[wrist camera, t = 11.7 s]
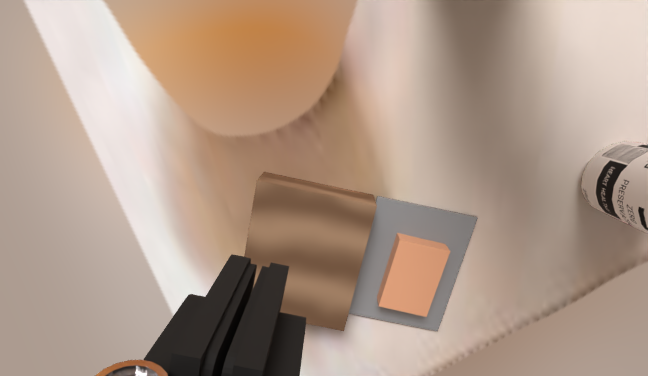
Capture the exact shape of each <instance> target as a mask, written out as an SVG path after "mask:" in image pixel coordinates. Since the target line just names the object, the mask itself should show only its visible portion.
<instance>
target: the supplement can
mask: <svg viewBox="0 0 648 376" xmlns="http://www.w3.org/2000/svg"><path fill="white" fill-rule="evenodd" d="M581 188H582V191H583V195H584V198H585V199H586V200H587V202H588V203H589V204H590V205H591V206H592V207H594V208H596V209H598V210H600V211H602V212H604V213H606V214H608V215H610V216H612V217H614V218H616V219H618V220H620V221H622V222H624V223H626V224H628V225H630V226H633V227H635V228H637V229H639V230H641V231H643V232H645V233H647V234H648V144H644V143H639V142H629V141H623V142H619V143H615V144H611V145H609V146H607V147H606V148H604V149H602V150H601V151H599V152H598V153H597V154H596V155H595V156H594V157H593V158H592V159H591V160H590V161H589V162H588V164H587V166H586V168H585V170H584V173H583V175H582V184H581Z"/></svg>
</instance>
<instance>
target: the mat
mask: <svg viewBox="0 0 648 376" xmlns="http://www.w3.org/2000/svg"><path fill="white" fill-rule="evenodd" d="M376 205H377V208H376V212H375V216H374V219H373V223H372V227H371V231H370V234H369V238H368V242H367V246H366V249H365V253H364V257H363V261H362V264H361V268H360V272H359V276H358V279H357V283H356V287H355V291H354V294H353V298H352V302H351V306H350V309H349V314H354V315H359V316H364V317H369V318H374V319H379V320H384V321H389V322H394V323H399V324H404V325H409V326H414V327H419V328H424V329H429V330H434V331H438V329H439V326H440V323H441V320H442V317H443V315H444V312H445V309H446V306H447V303H448V300H449V298H450V295H451V292H452V289H453V286H454V283H455V281H456V278H457V275H458V272H459V269H460V266H461V263H462V261H463V258H464V255H465V252H466V249H467V246H468V244H469V241H470V238H471V235H472V232H473V229H474V227H475V224H476V221H477V217H475V216H470V215H465V214H460V213H456V212H451V211H446V210H442V209H437V208H432V207H427V206H423V205H418V204H413V203H408V202H404V201H399V200H394V199H390V198H385V197H380V196H377V200H376ZM397 233H400V234H405V235H409V236H413V237H417V238H422V239H426V240H430V241H435V242H439V243H443V244H446V246H447V247H448V249H449V250H450V254H449V257H448V259H447V262H446V265H445V268H444V270H443V273H442V276H441V279H440V281H439V284H438V287H437V289H436V292H435V295H434V298H433V300H432V303H431V306H430V309H429V311H428V314H427V317H424V316H420V315H415V314H411V313H406V312H402V311H397V310H393V309H388V308H384V307H380V306H378V301H377V295H378V292H379V289H380V285H381V282H382V279H383V276H384V273H385V269H386V266H387V263H388V260H389V257H390V254H391V250H392V247H393V244H394V241H395V238H396V235H397Z"/></svg>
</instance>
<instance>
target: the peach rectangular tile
mask: <svg viewBox="0 0 648 376" xmlns="http://www.w3.org/2000/svg"><path fill="white" fill-rule="evenodd" d="M449 254H450V250H449V249H448V247H447V246H446V244H443V243H439V242H435V241H430V240H426V239H422V238H417V237H413V236H409V235H405V234H400V233H397V235H396V238H395V241H394V244H393V247H392V250H391V254H390V257H389V260H388V263H387V266H386V269H385V273H384V276H383V279H382V282H381V285H380V289H379V292H378V295H377V301H378V306H380V307H384V308H388V309H393V310H397V311H402V312H406V313H411V314H415V315H420V316H424V317H427V314H428V311H429V309H430V306H431V303H432V300H433V298H434V295H435V292H436V289H437V287H438V284H439V281H440V279H441V276H442V273H443V270H444V268H445V265H446V262H447V259H448V257H449Z"/></svg>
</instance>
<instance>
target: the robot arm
mask: <svg viewBox="0 0 648 376" xmlns="http://www.w3.org/2000/svg"><path fill="white" fill-rule="evenodd" d="M256 269H257V265H256V264H251V258H247V257H242V256H237V255H231V256H230V257H229V259H228V261H227V262H226V264H225V266H224V267H223V269H222V271H221V272H220V274H219V276H218V277H217V279H216V281H215V282H214V284H213V285H212V287H211V289H210V290H209V292H208V294H207V295H206V297H203V296H198V295H193V294H190V295H188V297H187V298H186V299H185V300H184V302H183V303H182V305H181V306H180V308H179V309H178V311H177V312H176V313H175V315H174V316H173V318H172V319H171V321H170V322H169V324H168V325H167V326H166V328H165V329H164V331H163V332H162V334H161V335H160V337H159V338H158V339H157V341H156V342H155V344H154V345H153V347H152V348H151V350H150V351H149V352H148V354H147V355H146V357H145V358H144V360H128V361H124V362H119V363H116V364H113V365H111V366H109V367H107V368H105V369H103V370H102V371H100V372H99V373H98V374H96V375H95V376H299V375H300V367H301V358H302V350H303V342H304V334H305V326H306V317H302V316H297V315H292V314H287V313H282V312H280V310H281V305H282V300H283V295H284V291H285V286H286V281H287V276H288V271H289V266H286V265H281V264H276V263H272V262H271V263H270V266H269V267H266V266H262V268H261V270H260V273H259V275H258V278H257V280H256V283H255V285H254V280H255V275H256ZM253 286H254V288H253Z"/></svg>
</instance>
